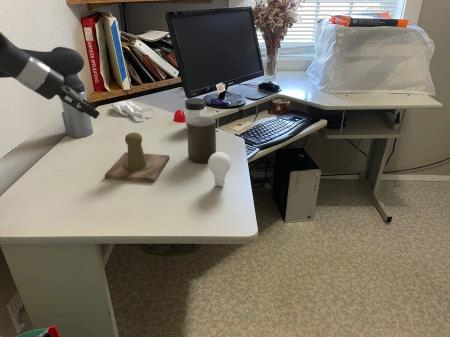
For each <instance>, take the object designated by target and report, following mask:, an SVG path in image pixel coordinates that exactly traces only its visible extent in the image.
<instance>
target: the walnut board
mask: <svg viewBox="0 0 450 337" xmlns="http://www.w3.org/2000/svg"><path fill="white" fill-rule="evenodd" d="M144 156H145V160H146V163H147V166H146V167H145V168H143V169H140V170H131V169H129V168H128V151H127V152H124V153H123V154H122V155H121V156H120V157H119V158H118V159H117V160H116V162H115V163H114V164H113V165H112V166H111V167H110V168H109V169H108V170H107V171H106V173H105V174H104V178H105V179H106V180H116V181H117V180H119V181H120V180H121V181H130V182H141V183H142V182H143V183H156V182H157V180H158V178H159V177H160V175H161V173H162V172H163V170H164V168H166V165H168V163H169V161H170V155H168V154H156V153H144Z"/></svg>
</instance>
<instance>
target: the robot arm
mask: <svg viewBox="0 0 450 337" xmlns="http://www.w3.org/2000/svg"><path fill="white" fill-rule="evenodd" d="M84 67H85V60H84V58H83V56H82V54H81V53H79V52H78V51H77V50H75V49H73V48H69V47H65V46H56V47H54V48H52V49H51V51H37V50H31V49H24V48H19V47H18V46H17V45H16V44H14V43H13V42H11V41H10V39H9V38H7V36H6V35H4V33H3V32H1V31H0V79H1V78H3V79H5V78H12V79H14V80H16V81H18V83H20V84H21V85H22V86H24V87H26V88H27V89H29V90H31V91H32V92H35V93H36V94H38V95H39V96H41V97H43V99H44V98H45V99H47V100H52V99H54V98H55V96H58V98H59V100H60V101H61V107H62V109H63V111H61V117H62V121H63V125H64V129H65V133H66V136H69V137H71V138H84V137H88V136H90V135H92V134H93V133H94V127H93V124H92V119H91V118H93V119H95V120H96V119H98V117H99V116H100V114H101V113H100V112H99V110H97V109H95V108H94V107H93V104H92V102H89V101H88V98H87V93H86V88H85V84H84V82H83V81H82V79H80V77H79V75H78V74H79V73H81V71H82V70H83V68H84Z"/></svg>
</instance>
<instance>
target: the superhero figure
mask: <svg viewBox="0 0 450 337" xmlns="http://www.w3.org/2000/svg"><path fill="white" fill-rule="evenodd" d="M111 107H112V109H114V110H116V112H117V114H119V113H120V114H121V115H122V116H125V117H127V118H128V117H129V116H133V117H141V120H142V122H144V123H145V121H146V118H145V114H144V113H145V112H149V111H150V112H151V113H152V115H153V116H154V117H155V116H156V115H157V113H156V111H155V108H153V107H143V108H141V107H139V106H137V105H136V104H135V103H134V102H132V101H131V100H128V101H127V100H125V101H123V100H122V101H117V102H113V103H111Z"/></svg>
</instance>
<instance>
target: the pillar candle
mask: <svg viewBox="0 0 450 337" xmlns="http://www.w3.org/2000/svg"><path fill="white" fill-rule="evenodd" d="M216 123H217V122H216V119H215V118H214V117H211V116H206V117H203V116H201V117H200V116H199V117H193V118H190V119H188V120H187V129H186V130H187V155H188V160H189V161H191V162H192V163H194V164H198V165H199V164H201V165H202V164H203V165H204V164H208V161H209V158H210V157H211V155H212V154H214V153H216V152H217V130H216V128H217V127H216V126H217V125H216Z"/></svg>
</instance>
